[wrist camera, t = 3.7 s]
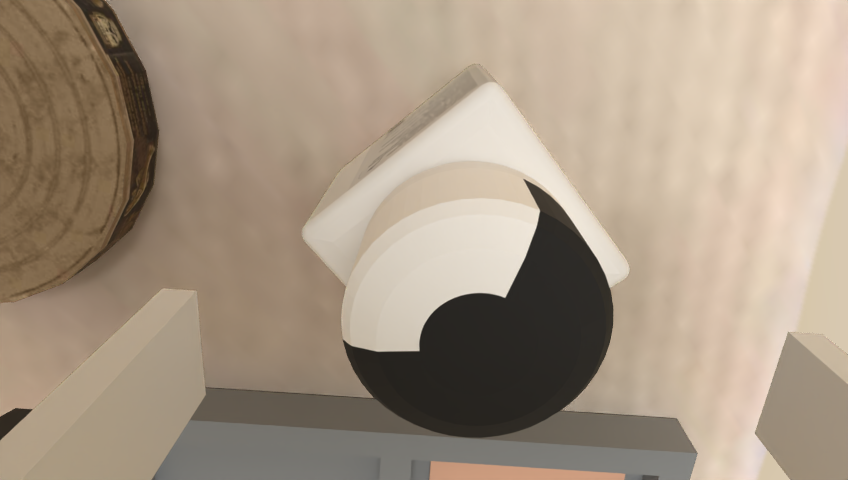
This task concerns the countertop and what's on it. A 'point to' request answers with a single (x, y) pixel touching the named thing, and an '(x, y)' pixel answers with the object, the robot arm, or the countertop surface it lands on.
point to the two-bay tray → (410, 444)
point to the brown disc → (68, 140)
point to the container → (467, 267)
